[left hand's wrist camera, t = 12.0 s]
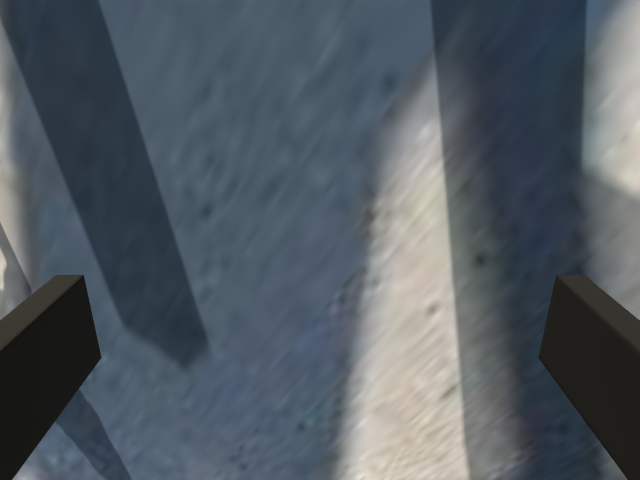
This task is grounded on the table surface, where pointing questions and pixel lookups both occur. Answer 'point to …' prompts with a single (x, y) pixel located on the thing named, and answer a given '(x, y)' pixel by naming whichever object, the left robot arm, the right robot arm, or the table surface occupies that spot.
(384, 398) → the table surface
